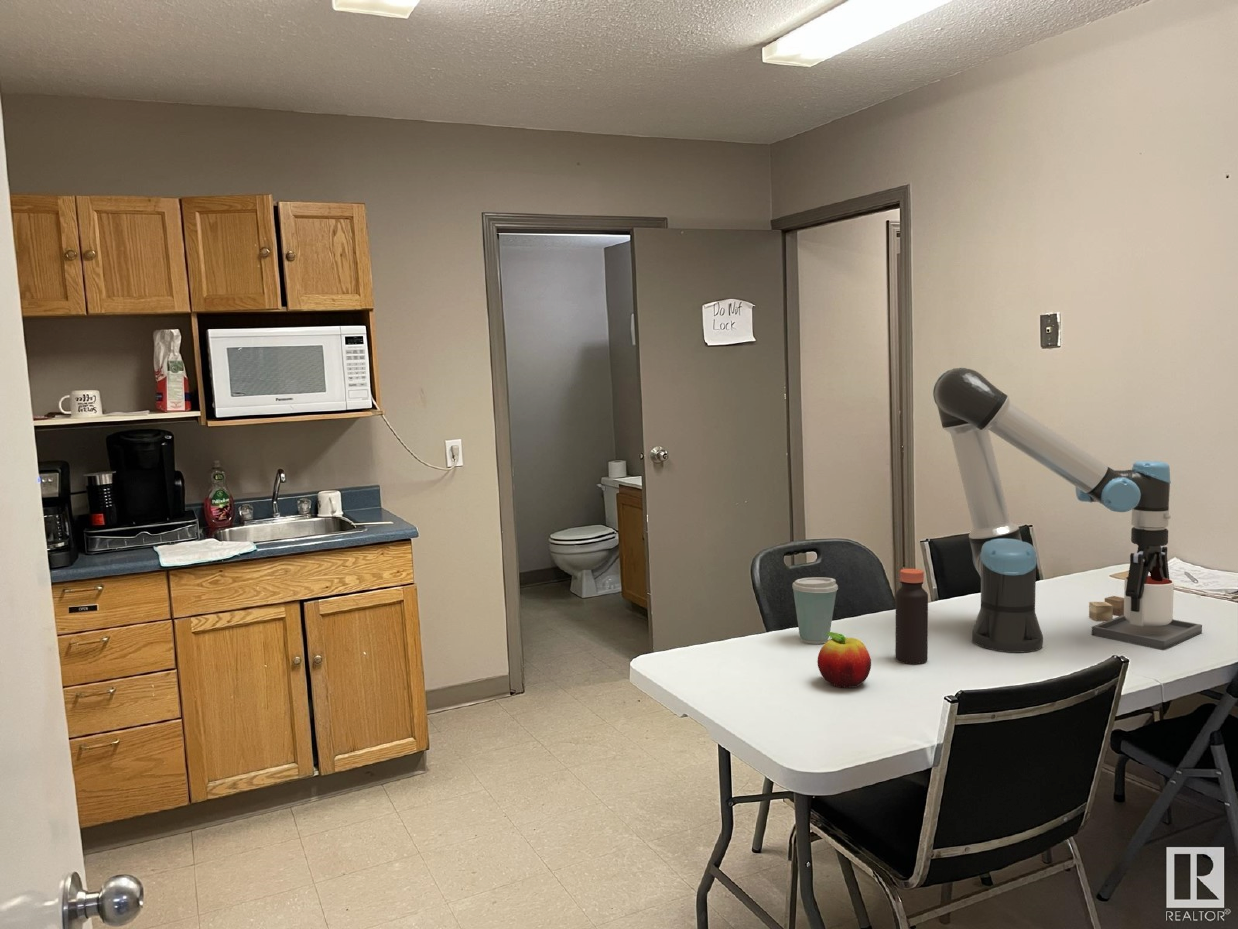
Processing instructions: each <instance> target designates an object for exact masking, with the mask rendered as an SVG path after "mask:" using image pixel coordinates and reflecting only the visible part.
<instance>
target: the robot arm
mask: <svg viewBox="0 0 1238 929" xmlns="http://www.w3.org/2000/svg"><path fill="white" fill-rule="evenodd" d="M932 396H933V401H934V403H935V404H936V407H937V411H938V415H939V418H940V422H941V423H940V424H941V427H942V429H943V430H945V431H946V432H948V433H949V434H950V435H951V440H952V444H953V448H954V452H955V458H956V461H957V466H958V469H959V474H960V478H961V482H962V486H963V487H962V488H963V492H964V495H965V499H966V503H967V507H968V511H969V515H970V516H969V517H970V519H971V523H972V530H970V533H969V534H968V539H969V544H970V548H971V552H972V563H973V566H974V568H975V570H976V571H977V573H978V575H979V577H980V609H979V612H978V614H977V617H976V620H975V622H974V625H973V628H972V632H971V635H972V636H971V639H972V642H973V643H974V644H975V645H977V646H978V647H979V646H980V647H982V648H985V649H989V650H992V651H993V650H994V651H998V652H1005V653H1006V652H1008V653H1009V652H1010V653H1028V652H1033V651H1038V650H1041V649H1042V648H1043V647H1044V636H1043V633H1042V630H1041V627H1040V626H1041V625H1040V623H1039V621H1038V616H1037V614H1036V586H1037V585H1036V583H1037V581H1036V580H1037V578H1036V577H1037V576H1036V575H1037V564H1038V558H1037V552H1036V549H1035V547H1034V546H1033V544H1031V543H1029V542H1027V541H1023V539H1022V536H1021V535H1022V534H1021V531H1020V527H1019V526H1018V525H1017V524H1015V523H1013V522H1012V521H1011V519H1010V514H1009V511H1008V506H1007V502H1006V498H1005V494H1004V490H1003V489H1004V488H1003V486H1002V481H1001V477H1000V472H999V469H998V468H999V467H998V465H997V461H996V457H995V452H994V447H993V444H992V443H993V442H992V439H991V435H990V432H991V433H993V434H994V435H996V436H998V437H999V438H1000V439H1002V440H1004V441H1006V442H1007V443H1008V444H1010V445H1011V446H1013V447H1015V448H1016V449H1018V450H1019V451H1020V452H1022V453H1024V455H1027V456H1028V457H1030V458H1031V459H1033V460H1034V461H1036V462H1037V463H1039V464H1041V466H1043V467H1045V468H1047V469H1048V470H1050V471H1051V472H1053V473H1054V474H1056V475H1058V476H1059V477H1060V478H1062V479H1063V480H1065V481H1066V482H1068V483H1070V484H1071V485H1073V486H1074V488H1075V494H1076V498H1077V500H1079V501H1080V502H1088V503H1091V504H1092V503H1099V504H1102V506H1104V507H1105V508H1107V509H1109V510H1110V511H1111V512H1117V513H1126V512H1130V511H1131V525H1132V528H1131V531H1130V532H1131V534H1130V537H1131V538H1130V541H1131V543H1132V544H1134V545H1137V550H1136V553H1135V552H1133V553H1132V552H1131V553H1130V554H1129V559H1130V561H1129V569H1128V576H1127V577H1128V580H1127V587H1126V596H1129V597H1131V599H1130V624H1134V625H1139V626H1143V625H1144V598H1142V595H1143V592H1144V584H1146V581H1147V577H1148V576H1151V579H1152V580H1155V581H1162V578H1166V579H1170V571H1169V563H1168V547H1167V545H1168V544H1169V530H1168V527H1169V520H1170V519H1171V515H1170V513H1169V512H1170V507H1169V506H1170V503H1169V502H1170V491H1171V490H1170V489H1171V472H1170V470H1171V469H1170V465H1169V464H1168V462H1165V461H1157V460H1138V461H1134V462H1133V464H1132V468H1131V469H1123V470H1119V469H1118V470H1114V469H1113V468H1111V467H1109V466H1108V465H1107V464H1105V463H1104V462H1102V461H1101V460H1099V459H1097V458H1096V457H1095V456H1093V455H1092V454H1090V453H1088V452H1086V451H1085V450H1084V449H1082V448H1081V447H1079V446H1077V445H1076V444H1074V443H1073V442H1071V441H1070V440H1068V439H1067V438H1065V437H1064V436H1062V435H1060V434H1059V433H1057V432H1056V431H1054V430H1053V429H1052V428H1049V427H1048V426H1046V425H1045V424H1044V423H1042V422H1040V421H1039V420H1038V419H1036V418H1034V417H1033V416H1031V415H1030V414H1028V413H1027V412H1025V411H1024V410H1022V409H1020V408H1019V407H1017V406H1016V405H1014V404H1013V403H1011V402H1010V397H1009V395H1008V394H1006V393H1004V392H1002V391H1001V390H1000V389H999V388H997V387H996V386H995V385H993V383H991V382H990V381H989V380H988V379H987V378H986V377H985V376H983V374H982V373H980V372H978V371H976V370H974V369H971V368H966V367H957V368H955V367H954V368H952V369H949V370H947V371H945V372H943V373H942V374H941V375H940V376H939V377H938V378H937V380H936V382H935V384H934V386H933V390H932ZM1149 574H1150V575H1149Z"/></svg>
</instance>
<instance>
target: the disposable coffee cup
mask: <svg viewBox="0 0 1238 929" xmlns="http://www.w3.org/2000/svg"><path fill="white" fill-rule="evenodd" d="M836 580H837V579H835V578H832V577H819V576H818V577H816V576H815V577H814V576H813V577H803V578H798V579H796V580H794V582H792V586H791V587H792V590H793V597H794V598H793V599H794V605H795V612H796V620H797V626H798V634H799V637H800V640H801V642H803V643H806V644H814V645H816V644H817V645H820V644H825V643H826V642H827V641H829V638H830V636H828V635H827V633H828V632H831V629H832V628H831V627H832V621H833V617H834V616H833V615H834V609H835V603H836V597H837V596H836V595H837V590H839V586H838V584H837V583H836V582H837V581H836Z"/></svg>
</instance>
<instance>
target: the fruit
mask: <svg viewBox="0 0 1238 929" xmlns="http://www.w3.org/2000/svg"><path fill="white" fill-rule="evenodd" d="M827 635H828V636H829V638H830V639H828V641H827V642H826V643H823V645H822V646H821V648H820V650H819V651H818V652H819V653H818V656H817V661H816V662H817V668H818V670H819V673H820V675H821V676H822V678H823V679H824V681H826V682H827V683H828V684H829V685H831V686H833V687H836V688H837V687H838V688H846V689H847V688H855V687H858V686H860V685H861V684H862V683H864V682H865V681H866V680H867V678H868V676H869V675H870V671H871V669H872V659H871V655H870V653H869V651H868V648H867V647H866V645H865V643H864V642H862V641H861V640H860V639H858V638H856V637H845V635H844V634H842V633H838V632H834V631H830V632H828V633H827Z"/></svg>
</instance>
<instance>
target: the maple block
mask: <svg viewBox="0 0 1238 929" xmlns="http://www.w3.org/2000/svg"><path fill="white" fill-rule="evenodd" d="M1088 604H1089V605H1088V606H1089V607H1088V617H1089V619H1092V620H1093V621H1095V622H1106V621H1108V620H1111V619H1113V618H1114V615H1113V606H1112V605H1111V604H1109V603H1107V602H1105V601H1089V602H1088Z"/></svg>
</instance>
